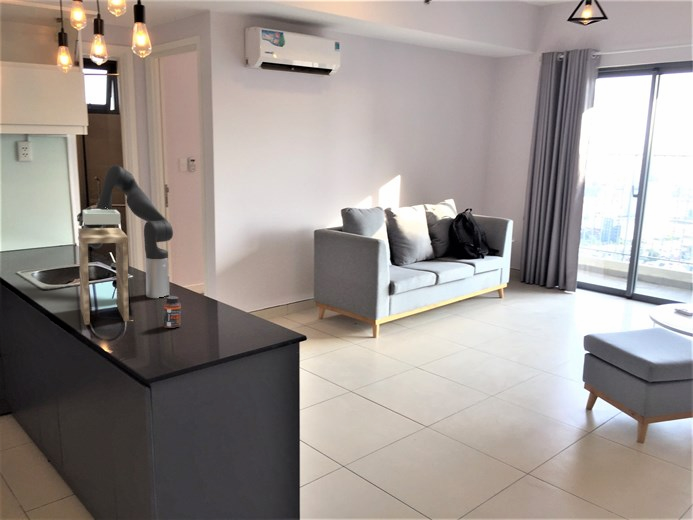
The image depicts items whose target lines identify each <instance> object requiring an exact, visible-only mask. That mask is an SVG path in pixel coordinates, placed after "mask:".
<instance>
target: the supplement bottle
mask: <svg viewBox="0 0 693 520" xmlns="http://www.w3.org/2000/svg"><path fill="white" fill-rule="evenodd" d="M181 305H182V304H181V302H179V297H178V296H175V295H169V297H166V302H164V304H163V327H164V328H165V329H167V328H175V327H178V326H180V327H181V319H182V318H181V315H182V314H181V312H182V306H181Z"/></svg>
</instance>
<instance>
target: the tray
mask: <svg viewBox="0 0 693 520" xmlns="http://www.w3.org/2000/svg"><path fill="white" fill-rule="evenodd" d="M82 211H83V220H82V221H83V224H84V223H85V225H96V224H107V225H121V213H120V212H119V211H118V210H117V209H112V210H101V209H96V208H91V210H87V209H82Z"/></svg>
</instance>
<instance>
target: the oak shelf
mask: <svg viewBox="0 0 693 520" xmlns="http://www.w3.org/2000/svg"><path fill="white" fill-rule="evenodd" d="M77 230H78V233H77V234H78V236H79V240H78V255H79V257H78V261H79V262H78V263H79V290H80V291H79V293H80V294H79V295H80V311H81V315H82V318H83V323H84V325H90V324H91V323H90V322H91V321H90V319H91V318H90V315H91V314H90V287H89V285H90V281H89V251H88V249H89V246H88V243H103V244H112V243H114V244H115V269H116V270H115V271H116V273H115V274H116V275H115V276H116V308H117V309H118V312H119V314H120V316H121V317H122V319H123V322H129V320H130V317H129V315H130V314H129V313H130V312H129V309H130V307H129V306H130V305H129V252H128V251H129V247H128V245H129V237H128V235H127V234H126V233H125V232H124V231H123V230H122V229H121V228H120V227H107V228H106V227H105V228H84V227H83V228H79V227H78V229H77Z"/></svg>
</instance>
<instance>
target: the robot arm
mask: <svg viewBox="0 0 693 520" xmlns="http://www.w3.org/2000/svg"><path fill="white" fill-rule="evenodd" d="M114 188H116V189H119V190H120V191H121V192H122V193H124V195H125V196H126V199H125V200H126V204H127V206H128V208H129V209H130V211H131V212H132V213H133V215H135V216H136V217H138V218H139V219H142V220H143V221H146V222H145V223H144V227H143V238H144V252H145V295H146V297H147V298H149V299H160V298H159V297H164V296H166V295H169V296H170V275H169V251H168V250H166V249H162V248H160V247H158V243H162V242H163V243H164V242H169V241H170V240H172V238H173V236H174V231H173V227H172V225H171V223H170V221H169V220H167V218H166V217H165V216H163V214H161V213H160V211H159V210H158V209H157V208H156V206H154V204H153V203H152V201H151V200H150V199H149V197H148V196H147V194H146V193H145V192H144V191H143V190H142V189H141V188H140V186H139V185H138V183H137V181H136V179H135V177H134V176H133V174H132V173H131V172H129V171H128V170H127V169H125V168H124V167H122V166H120V165H117V164H115V165H112V166H111V167H110V168H109V169H108V170H107V172H106V174H105V177H104V181H103V184H102V187H101V191H100V195H99V199H98V203H97V205H96V207H95V209H101V210H108V209H109V210H113V191H114ZM105 207H106V208H105ZM107 208H108V209H107ZM91 209H92V207H91V206H89V207H88V208H86V210H91ZM76 218H77V219H76V220H77V222H79V223H80V222H81V221H83V210H81V211H80V212H79V213H78V214H77V215H76ZM107 225H108V224H96V225H85V223H84V222H83V228H106V227H107ZM77 237H78V239H77V240H78V241H79V235H78V236H77ZM103 244H104V243H88V247H91V248H93V249H100V248H101V247H102V246H103ZM164 298H165V297H164Z"/></svg>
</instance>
